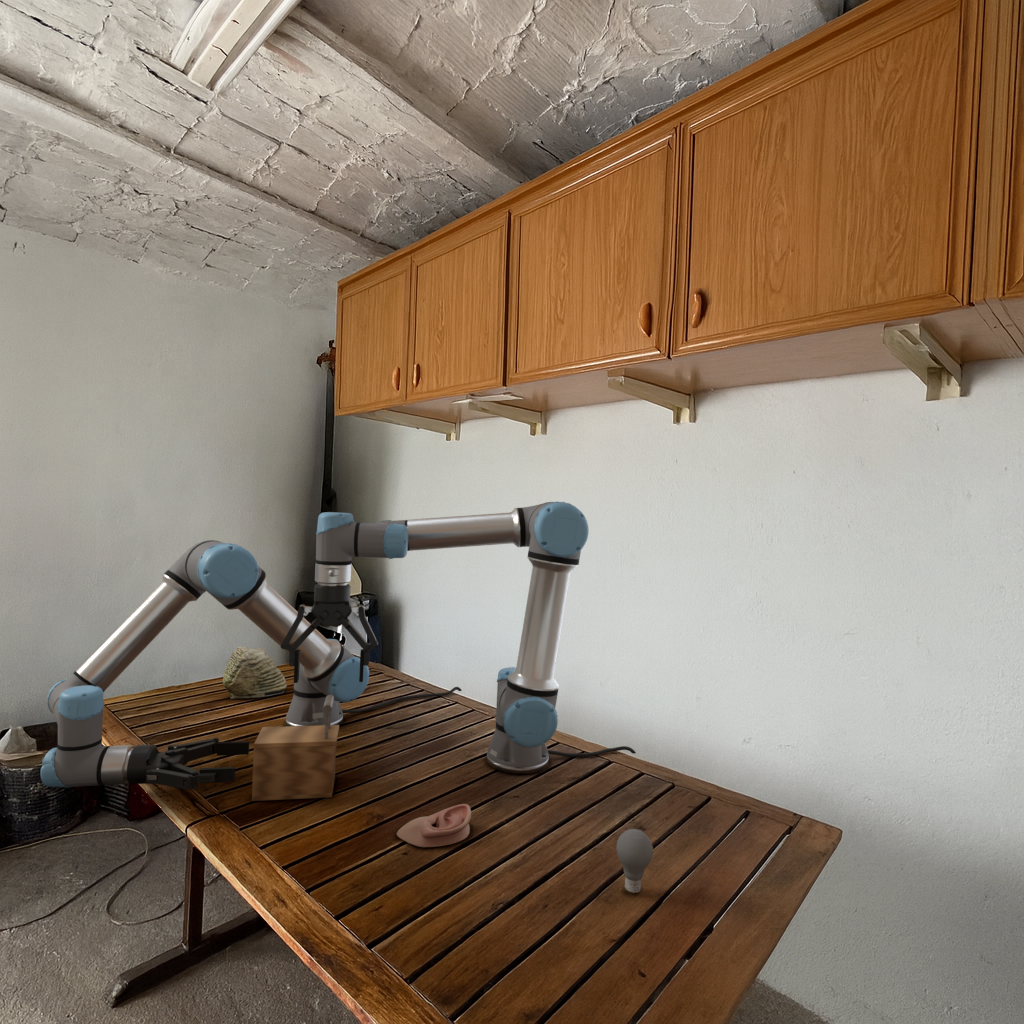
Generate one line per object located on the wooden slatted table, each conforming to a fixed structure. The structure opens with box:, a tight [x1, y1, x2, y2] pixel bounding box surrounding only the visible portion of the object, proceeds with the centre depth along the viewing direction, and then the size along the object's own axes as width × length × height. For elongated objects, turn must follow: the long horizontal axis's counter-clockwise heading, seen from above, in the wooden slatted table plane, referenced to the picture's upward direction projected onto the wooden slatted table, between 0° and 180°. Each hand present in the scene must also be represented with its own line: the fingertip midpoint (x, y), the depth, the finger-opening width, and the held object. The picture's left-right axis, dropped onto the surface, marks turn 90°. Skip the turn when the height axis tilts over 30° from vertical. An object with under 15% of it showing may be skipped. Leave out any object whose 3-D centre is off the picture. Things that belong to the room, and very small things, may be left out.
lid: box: [253, 695, 340, 749], centre depth 137 cm, size 16×10×8 cm, turn 102°
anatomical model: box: [396, 803, 472, 848], centre depth 121 cm, size 13×4×12 cm
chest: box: [251, 744, 337, 802], centre depth 137 cm, size 16×10×11 cm, turn 102°
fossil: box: [222, 646, 288, 699], centre depth 198 cm, size 9×18×15 cm, turn 132°
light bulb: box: [615, 828, 654, 894], centre depth 106 cm, size 6×6×10 cm
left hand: (242, 760), depth 134 cm, fingers open, 13 cm apart
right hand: (329, 680), depth 138 cm, fingers open, 13 cm apart
